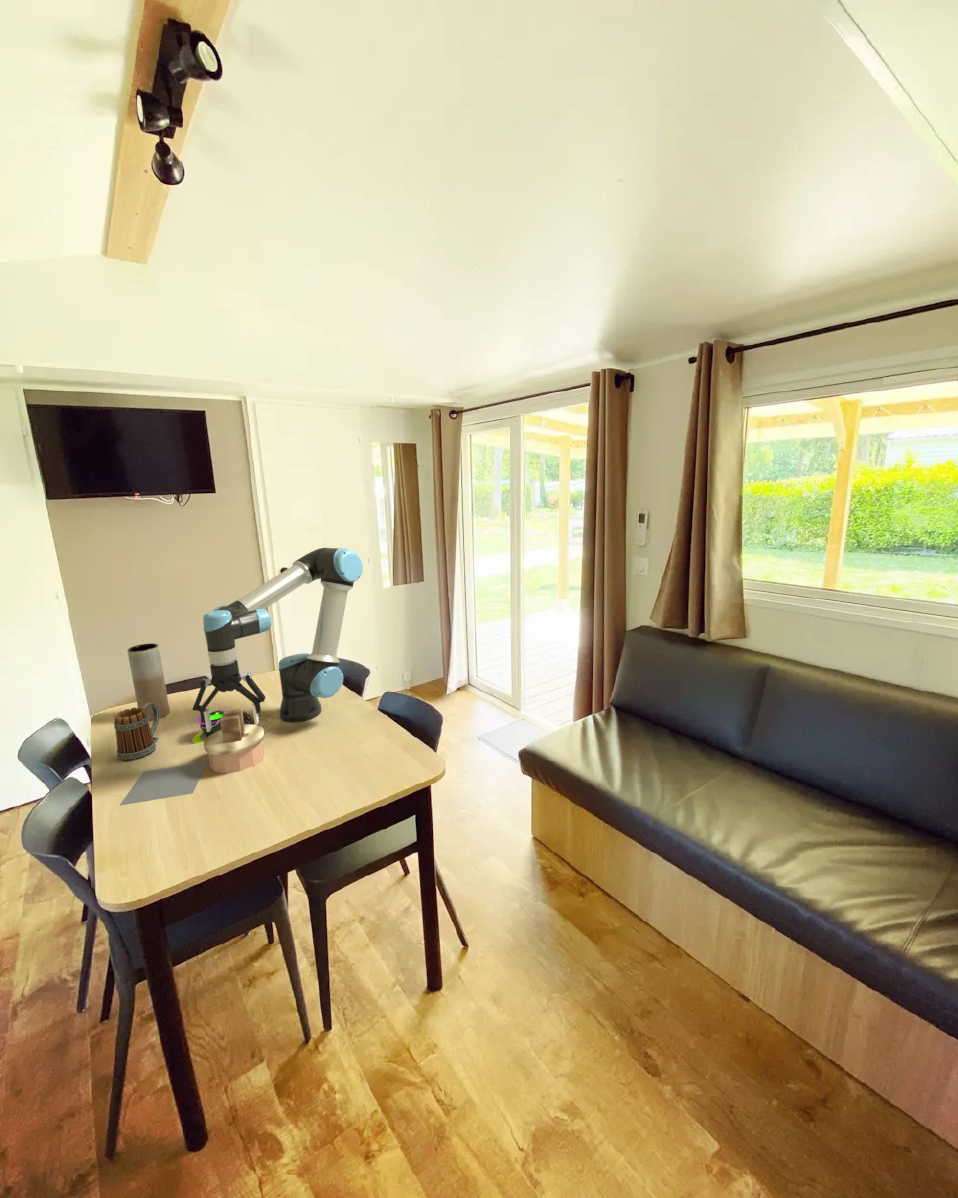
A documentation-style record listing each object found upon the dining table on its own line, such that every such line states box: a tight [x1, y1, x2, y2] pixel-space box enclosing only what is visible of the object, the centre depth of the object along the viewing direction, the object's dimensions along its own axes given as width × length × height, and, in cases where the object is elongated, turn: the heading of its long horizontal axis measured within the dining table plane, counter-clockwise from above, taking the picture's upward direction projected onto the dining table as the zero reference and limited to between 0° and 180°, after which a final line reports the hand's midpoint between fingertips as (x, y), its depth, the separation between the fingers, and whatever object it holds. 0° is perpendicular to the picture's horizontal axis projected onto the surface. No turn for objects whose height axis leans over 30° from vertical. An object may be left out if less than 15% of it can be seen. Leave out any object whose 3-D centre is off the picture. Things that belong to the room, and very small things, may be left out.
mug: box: [113, 703, 161, 762], centre depth 166 cm, size 16×11×15 cm
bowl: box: [207, 740, 265, 774], centre depth 159 cm, size 15×15×7 cm
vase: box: [127, 643, 171, 722], centre depth 193 cm, size 10×10×28 cm
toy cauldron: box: [192, 703, 227, 745], centre depth 176 cm, size 15×15×11 cm
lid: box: [203, 708, 265, 755], centre depth 157 cm, size 17×17×9 cm
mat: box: [119, 760, 209, 806], centre depth 148 cm, size 18×18×1 cm
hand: (233, 726), depth 157 cm, fingers open, 13 cm apart
